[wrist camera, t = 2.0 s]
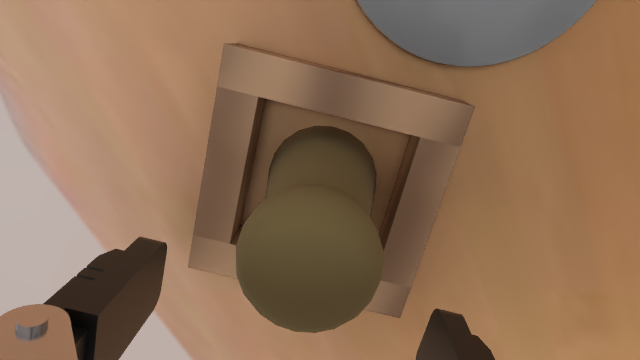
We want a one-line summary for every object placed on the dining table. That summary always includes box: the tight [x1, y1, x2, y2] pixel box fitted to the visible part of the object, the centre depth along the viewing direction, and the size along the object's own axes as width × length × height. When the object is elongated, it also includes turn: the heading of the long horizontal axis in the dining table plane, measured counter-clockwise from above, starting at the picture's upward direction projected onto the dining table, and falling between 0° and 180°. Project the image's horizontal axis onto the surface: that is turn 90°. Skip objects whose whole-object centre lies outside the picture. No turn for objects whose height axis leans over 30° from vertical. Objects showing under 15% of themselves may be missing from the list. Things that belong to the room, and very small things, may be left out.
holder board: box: [188, 44, 475, 318], centre depth 23 cm, size 12×12×2 cm
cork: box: [236, 126, 384, 333], centre depth 19 cm, size 6×6×11 cm
